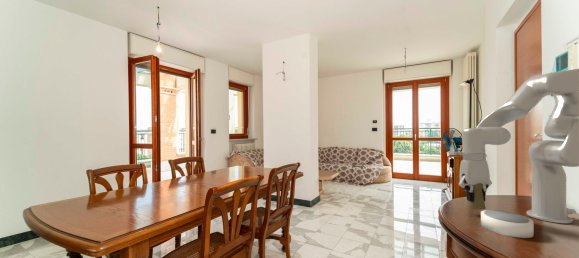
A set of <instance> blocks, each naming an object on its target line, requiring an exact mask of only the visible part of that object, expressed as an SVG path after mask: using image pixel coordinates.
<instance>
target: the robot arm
mask: <svg viewBox="0 0 579 258" xmlns="http://www.w3.org/2000/svg"><path fill="white" fill-rule="evenodd" d="M546 96H547V97H548V96H552V97H553V98H554V101H555V104H554V107H553V110H552V112H551V113H550V115H549V118H548V120H547V121H546V123H545V126H544V130H543V131H544V134H545V136H547V138H550V139H545V140H544V139H542V140H536V141H535V142H533V143H531V144H530V145H529V147H528V157H529V161H530V167H531V209H528V210H526V215H527V216H529V217H532V218H534V219H537V220H541V221H545V222H549V223H554V224H555V223H557V224H572V223H573V221H574V219H573V218H571V217H570V216H569V215H575V214H577V211H576V209H574V208H567V174H566V170H565V169H564V167H569V168H578V167H579V68H575V69H573V68H572V69H569V70H568V69H567V70H560V71H553V72H548V73H545V74H539V75H535V76H532V77H529V78H528V79H526V80H524V82H523V83H522V84H521V85H520V86H519V88H518V89H516V90H515V92H514V93H513V94H512V95H511V96H510V98H508V100H507V101H506V102H505V103H504V104H502V105H500V106H498V108H497V109H495V110H494V111H492V112H491V113H490V114H488V115H487V116H485V117H484V118H483V119H482V120H481V121H480V122H479V123H478V125H476V127H467V128H463V129H462V131H461V144H462V147H461V148H462V160H461V161H460V164H459V165H460V166H459V176H458V177H459V182H458V186H459V187H461V188H463V190H464V191H465V192H466V200H467V202H468V201H471V202H474V193H473V185H476V184H478V183H482V184H483V189H482V193H483V198H484V202H486V192H487V189H488V188H489V187H490V186H491V185H492V184H493V182H492V181H491V178H490V176H491V175H490V170H489V169H490V168H489V163H488V160H487V159H486V158H487V156H488V155H487V154H486V145H490V146H491V145H493V146H502V145H505V144H507V143H508V142H509V141H510V140H511V137H512V136H511V132H510V131H509V130H508V129H507V128H505V127H503V126H505V125H507V124H509V123H511V122H514V121H517V120H520V119H522V118H524V117H527V116H528V115H529V114H530V113H532V111H533V110H534V109H535V108H536V107H537V105H539V103H540V102H541V101H542V100H543V98H545V97H546ZM552 139H555V140H552ZM468 186H470V187H468Z"/></svg>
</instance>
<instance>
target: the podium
mask: <svg viewBox="0 0 579 258" xmlns="http://www.w3.org/2000/svg"><path fill="white" fill-rule="evenodd" d="M480 225H481V226H480V227H482V228H483V229H486V230H487V231H490V232H492V233H496V234H499V235H502V236H507V237H512V238H519V239H521V238H522V239H529V238H532V237H534V236H535V235H534V229H535V228H534V227H535V226H534V220H533V219H531V218H530V217H528V216H527V217H526V216H524V215H521V214H518V213H514V212H509V211H505V210H496V209H484V210H482V211H480Z"/></svg>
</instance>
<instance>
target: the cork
mask: <svg viewBox="0 0 579 258" xmlns="http://www.w3.org/2000/svg"><path fill="white" fill-rule="evenodd" d="M468 187H470V186H468ZM482 189H483V184H482V183H478V184H476V185H473V193H474V202H471V201H468V200H467V207H468V208H470V209H472V210H473V209H474V210H482V211H484V210H487V208H486V203H485V201H484V198H483V193H482Z"/></svg>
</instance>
